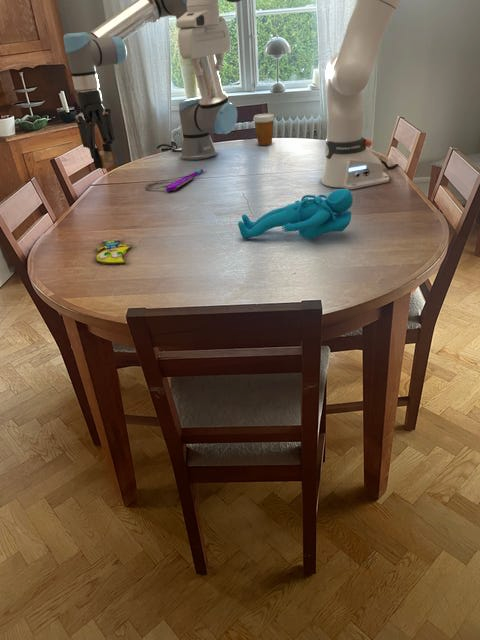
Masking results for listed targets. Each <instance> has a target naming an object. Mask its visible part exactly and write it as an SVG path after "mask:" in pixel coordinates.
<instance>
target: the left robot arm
mask: <svg viewBox="0 0 480 640" xmlns="http://www.w3.org/2000/svg"><path fill="white" fill-rule="evenodd" d="M186 12H187V0H135V1H133V2H132V3H130V4H128V6H126V7H125V8H123V9H121V10H120V11H119V12H117V13H116V14H114V15H112V16H111V17H109V18H108V19H107V20H105V21H104V22H102V23H101V24H99V25H98V26H97V27H95V28H93V29H92V30H91V31H90V32H87V31H84V32H71V33H65V34H64V35H63V45H64V50H65V51H64V52H65V54H66V58H67V62H68V66H69V70H70V75H71V79H72V83H73V87H74V90H75V91H76V92H75V97H76V100H77V105H79V107H80V108H79V113H78V114H75V115H74V116H73V118H74V121H75V122H76V124H77V129H78V132H79V135H80V136H79V137H80V139H81V143H82V147H83V148H86V149H88V150H89V153H90V158H91V159H92V160H93V164H94V168H95V169H103V168H102V163H101V159H100V154H99V152H100V150H99V147H97V145H96V130H95V129H96V128H95V126H96V127H97V129H98V132H99V134H100V136H101V139H102V142H103V143H102V149H103V150H102V151H108V152H112V153H113V148H112V144H113V142H114V141H115V139H116V138H115V132H114V127H113V123H112V122H113V121H112V116H111V113H112V110H111V108H109V107H108V108H107V107H104V105H103V104H102V103H103V98H102V97H103V96H102V92H101V90H100V89H99V88H100V82H99V79H98V73H97V68H98V67H104V66H111V65H119V64H123V63H124V62H125V61H126V59H127V56H128V50H127V46H126V44H125V40H127V39H128V38H130V37H131V36H133V35H134V34H135V33H136V32H138V31H139V30H141V29H142V28H144V27H145V26H146V25H147V24H149V23H156V22H158V21H159V20H161V19H165V18H168V17H175V19H176V20H177V19H178V18H180V17H181V16H182V15H184V14H185V13H186ZM199 64H200V67H201V68H203V75H200V76H196V74H195V73H194V75H195V78H196V82H197V86H198V90H199V95H200V96H198V97H194V98H190V99H189V98H188V99H183V100H181V101H180V102H179V103H178V109H179V111H178V112H179V119H180V125H181V132H182V144H181V149H177V148H176V146H175V145H172V144H167V143H161V144H159V145H157V147H156V150H157V149H160V148H162V147H169V148H171V152H172V153H180V158H181V159H182V160H185V161H201V160H202V161H203V160H208V159H210V158H213V157H215V156H216V155H217V148H216V147H215V145H214V141H213V140H212V137H211V134H217V135H228V134H230V133H231V132H232V131H233V130H234V128H235V127H236V125H237V122H238V109H237V107H236V105H235V104H234V103H232V102H230V101H229V97H228V93H226V92H225V91H223V88H222V83H221V78H220V75H219V71H215V67H214V65H215V64H216V57H215V55H209V56H204V57H200V62H199ZM193 71H194V72H195V69H194V68H193Z"/></svg>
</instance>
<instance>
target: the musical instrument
mask: <svg viewBox="0 0 480 640" xmlns="http://www.w3.org/2000/svg"><path fill="white" fill-rule="evenodd" d="M204 172H205V170H204V168H201V169H198V170H196V171H195V170H194V172H191V173H190V174H188V175H184V176H179V177H174V178H169V179H164V180H159V181H156V182H153V183H150V184H146V185H145V188H146V189H152V190H153V189H154V190H155V189H157V190H158V189H162V188H166V191H167V192H171V191H177V190H178V189H179V187H182V186H183V185H184V184H186V183H188V182H189V181H191V180H193V179H195V176H197V175H199V174H202V173H204ZM175 179H176V180H175ZM171 180H175V181H173V182H170V183H168V184H166V185H164V186H160V187H151V186H152V185H154V184H158V183H162V182H165V181H166V182H167V181H171Z"/></svg>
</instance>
